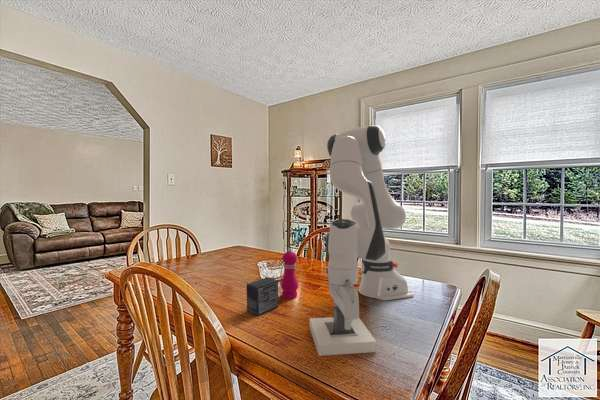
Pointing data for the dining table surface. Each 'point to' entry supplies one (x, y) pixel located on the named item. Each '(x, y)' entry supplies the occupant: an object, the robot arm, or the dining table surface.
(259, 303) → the small box
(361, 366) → the dining table surface
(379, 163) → the robot arm
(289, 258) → the pepper mill
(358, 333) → the socket
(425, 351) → the dining table surface
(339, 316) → the plug
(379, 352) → the dining table surface
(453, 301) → the dining table surface
